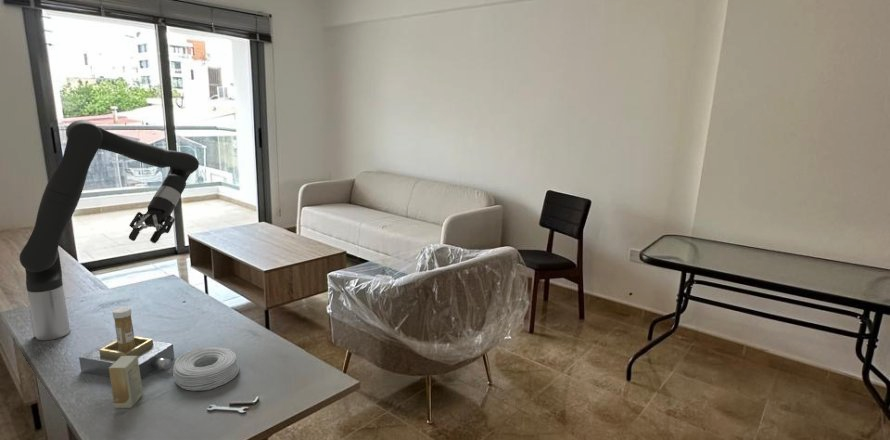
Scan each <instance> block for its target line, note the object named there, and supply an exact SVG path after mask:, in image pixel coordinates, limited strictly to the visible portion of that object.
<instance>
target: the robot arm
mask: <svg viewBox="0 0 890 440" xmlns="http://www.w3.org/2000/svg"><path fill="white" fill-rule="evenodd" d="M65 133H66V134H65V135H66V138H67V139H66V140H67V141H66V143H65V149H64V151H63V155H62V157H61V158H62V159H61V160H60V161H59V162H60V163H59V164H58V165H57V167H56V168H55V170H54V172H53V173H52V174H51V176H50V178H49V180H48V182H47V183H46V186H45V189H44V191H43V193H42V196H41V200H40V203H39V207H38V210H37V211H38V212H37V215H36V219H35V223H34V227H33V229H32V232H31V234H30V236H29V238H28V240H27V242H26V243H25V245H24V246H23V248H22V249H21V251H20V254H19V262H20V264H21V266H22V267H23V268H24V270H25V286H26V287H25V288H26V291H27V297H28V302H29V308H30V309H29V311H28V314H29V319H30V323H31V328H32V335H33V337H35V338H36V340H37V341H50V340H55V339H56V340H57V339H59V338H62V337H64V336H67V335H68V334H69V333H70V332H71V327H70V321H69V315H68V314H69V313H68V308H67V302H66V295H65V289H64V283H63V271H62V266H61V257H60V252H59V245H60V242H61V238H62V235H63V233H64V231H65V229H66V227H67V226H68V224H69V222H70V221H71V219H72V218H73V216H74V213H75V211H76V208H77V206H78V205H79V201H80V198H81V197H82V193H83V190H84V186H85V185H86V184H85V183H86V179H87V176H88V172H89V169H90V166H91V164H92V161H93V160H94V158H95V156H96V154H97V153H98V151H99V150H103V151H107V152H110V153H113V154H118V155H121V156H123V157H126V158H128V159H131V160H133V161H135V162H140V163H142V164H145V165H149V166H153V167H155V168H161V169H164V168H169V170H168V172H167V176H166V177H165V179H164V180H163V182H162V183H161V186H159V188H158V190H156V192H155V193H154V195H153V197H152V198H151V201H150V202H149V204H148V206H147V211H146V212H145V213H142V212H141V211H138V212H136V214H135V215H134V217H133V219H132V220H131V222H130V223H129V225H128V226H129V227H130V228H132V230H131V232H130V233H129V235H128V239H129V240H131V241H133V242H134V241H136V240H137V237H138V236H139V235H140V232H141V231H142V230H144V229H147V228H149V227H150V228H152V227H153V228H155V230H154V232H153V234H152V236H151V237H150V240H149V241H150V242H151V243H152V244H156V243H157V242H159V240H160V238H161V236H162V235H164V234H168V233H170V230H171V229H172V226H173V224H174V223H175V220H176V218H174V217H173V216H172V213H173V211H174V210H175V208H176V206H177V205H178V203H179V201H180V197H181V195H182V194H183V192H184V190H185V188H186V186H187V180H188V179H189V177H190V176H191V174H193V173H194V172H196V171H197V170H198V169H199V166H200V161H199V160H198V158H197V157H196V156H194V155H192V154H190V153H188V152H184V151H177V150H170V149H165V148H162V147H158V146H156V145H153V144H149V143H145V142H142V141H138V140H136V139H135V140H134V139H131V138H128V137H126V136H125V137H124V136H121V135H119V134H116V133H113V132H111V131H108V130H106V129H104V128H102V127H100V126H98V125H96V124H95V123H94V122H91V121H89V120H82V119H81V120H76V121H73V122H71V123H69V125H68V126H67V128H66V130H65Z"/></svg>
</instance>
